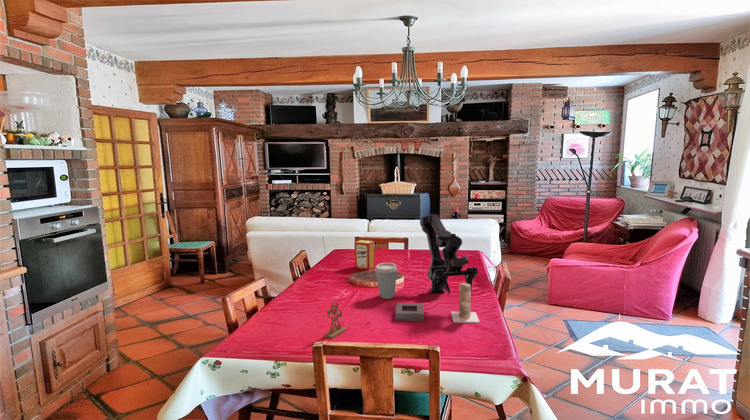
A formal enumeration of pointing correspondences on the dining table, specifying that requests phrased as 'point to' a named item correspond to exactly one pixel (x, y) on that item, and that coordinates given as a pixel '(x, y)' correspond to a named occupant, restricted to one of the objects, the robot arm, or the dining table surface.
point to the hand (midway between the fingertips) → (460, 292)
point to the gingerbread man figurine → (338, 329)
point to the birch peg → (464, 300)
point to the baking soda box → (364, 255)
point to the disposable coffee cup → (386, 279)
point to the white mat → (472, 319)
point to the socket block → (409, 312)
